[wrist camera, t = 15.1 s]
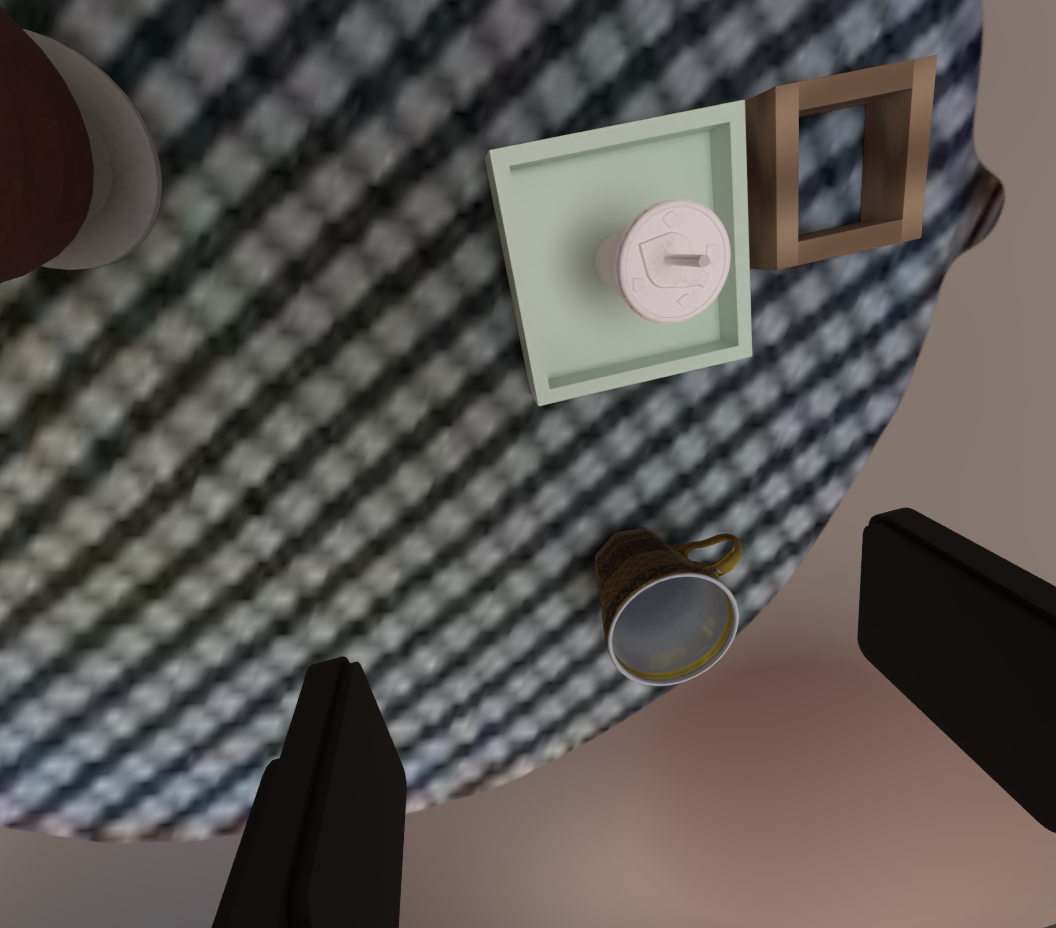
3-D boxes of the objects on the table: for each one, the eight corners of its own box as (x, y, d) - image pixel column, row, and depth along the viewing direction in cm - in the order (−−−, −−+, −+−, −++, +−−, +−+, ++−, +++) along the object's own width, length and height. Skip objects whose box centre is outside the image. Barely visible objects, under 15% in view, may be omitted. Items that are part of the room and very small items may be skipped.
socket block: (741, 103, 36) (775, 86, 33) (887, 74, 37) (936, 54, 33) (746, 268, 40) (777, 269, 37) (877, 239, 41) (921, 238, 37)
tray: (484, 159, 35) (489, 150, 32) (717, 113, 36) (744, 99, 33) (530, 394, 41) (538, 406, 38) (728, 348, 42) (752, 356, 39)
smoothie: (602, 192, 36) (693, 161, 23) (680, 236, 38) (804, 230, 25) (560, 284, 38) (624, 302, 25) (637, 322, 40) (733, 357, 27)
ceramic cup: (632, 623, 51) (674, 705, 42) (552, 573, 48) (579, 650, 38) (727, 522, 48) (795, 585, 39) (650, 461, 45) (704, 515, 36)
